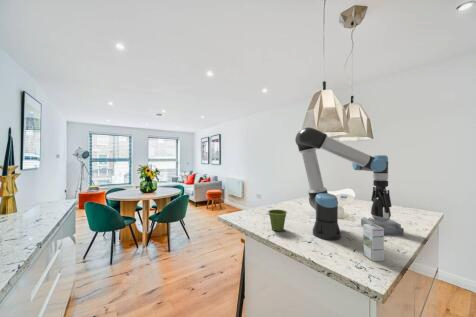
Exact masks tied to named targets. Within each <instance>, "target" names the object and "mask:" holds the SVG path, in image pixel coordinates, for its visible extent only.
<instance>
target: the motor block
mask: <svg viewBox="0 0 476 317" xmlns="http://www.w3.org/2000/svg"><path fill="white" fill-rule="evenodd" d="M363 224H375V225H377V226H380V227H382V228H384V236H385V235H387V236H388V235H389V236H403V237H404V235H405V234H404V230H405V228H404V227H402V224H401V223H399V222H396V221H394V220H392V219H389V220H388V221H386V222H380V221H377V220H375V219H374V218H373V217H369V218H367V217H365V216H364V217H362V218H361V219H360V225H361V226H362V227H363Z"/></svg>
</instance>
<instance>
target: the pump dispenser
mask: <svg viewBox="0 0 476 317" xmlns="http://www.w3.org/2000/svg"><path fill="white" fill-rule="evenodd" d="M383 206H384V205H383V201H382V198H381V196H378V197H376V198H375V200H374V202H373V201H372V204H371V207H370V208H371V209H370V214H371V218H373V219H375V220H377V221H380V222H386V221H388V220H389V219H390V218H391V217H392V212H391V207H389V218H383Z"/></svg>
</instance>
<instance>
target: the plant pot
mask: <svg viewBox="0 0 476 317" xmlns="http://www.w3.org/2000/svg"><path fill="white" fill-rule="evenodd" d="M267 212H268V215H269V218H270V219H269V220H270V225H271V226H270V227H271V230H272V231H274V230H276V231H275V232H283V231H284V229H285V223H286V217H287V214H288V212H287V210H284V209H269V210H268V211H267Z"/></svg>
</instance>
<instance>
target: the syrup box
mask: <svg viewBox="0 0 476 317" xmlns="http://www.w3.org/2000/svg"><path fill="white" fill-rule="evenodd" d="M362 233H363V235H362V236H363V238H362V240H363V242H362V243H363V244H362V245H363V246H362V247H363V252H362V253H363V256H365V257H366V258H368V260H370V261H372V262H384V261H385V235H384V228H382V227H380V226H377V225H375V224H363V226H362Z"/></svg>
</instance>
